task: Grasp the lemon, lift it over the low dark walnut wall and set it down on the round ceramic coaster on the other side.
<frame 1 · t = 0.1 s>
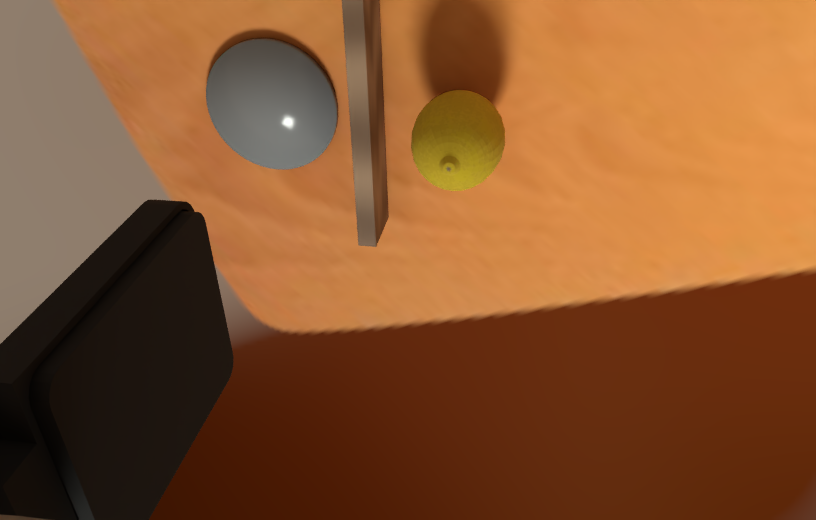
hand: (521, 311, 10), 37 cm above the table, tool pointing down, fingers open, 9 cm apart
coaster: (273, 105, 50), on the table
walnut wall: (374, 110, 49), on the table
lemon: (466, 113, 48), on the table
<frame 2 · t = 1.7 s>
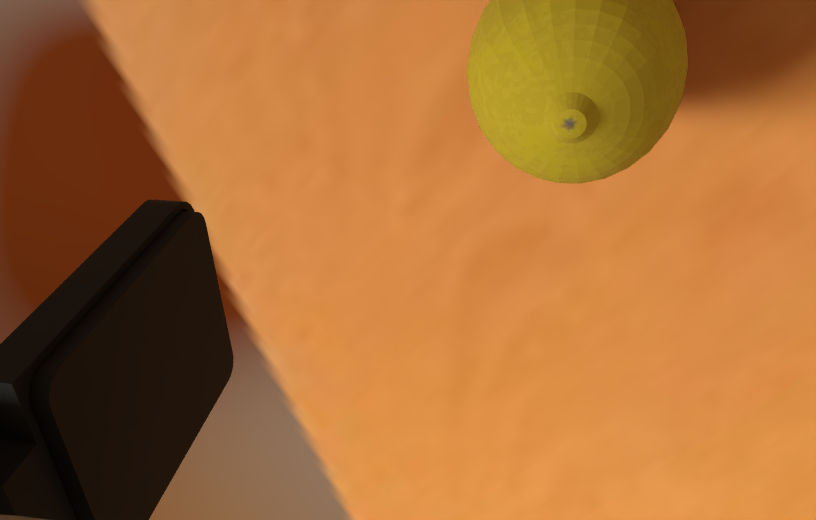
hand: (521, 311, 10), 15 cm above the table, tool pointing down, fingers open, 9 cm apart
lemon: (577, 23, 23), on the table
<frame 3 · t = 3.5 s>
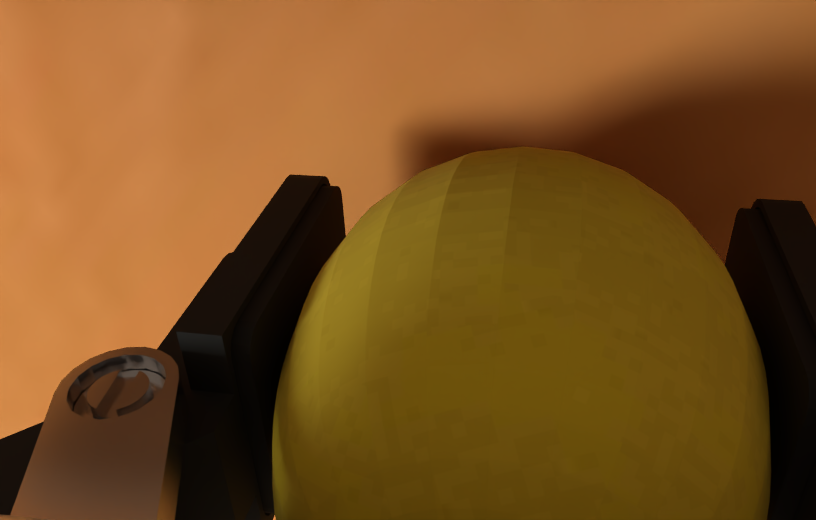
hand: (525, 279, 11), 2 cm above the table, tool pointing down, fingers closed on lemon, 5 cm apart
lemon: (531, 222, 13), on the table, touching gripper
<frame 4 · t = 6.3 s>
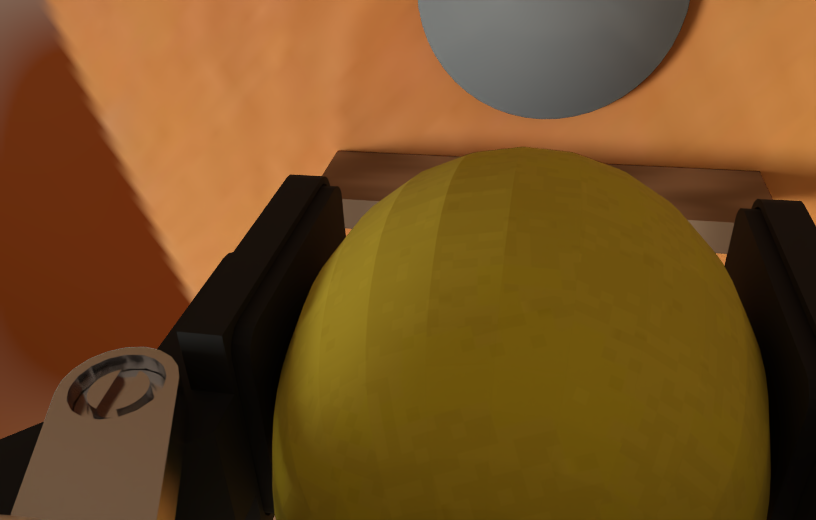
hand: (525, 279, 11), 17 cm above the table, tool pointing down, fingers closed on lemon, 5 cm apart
walnut wall: (537, 174, 29), on the table
lemon: (531, 222, 13), point 16 cm above the table, touching gripper
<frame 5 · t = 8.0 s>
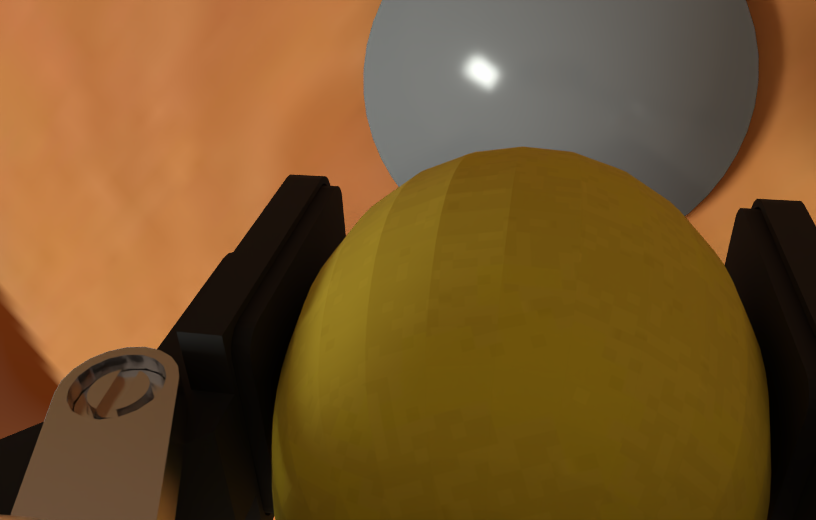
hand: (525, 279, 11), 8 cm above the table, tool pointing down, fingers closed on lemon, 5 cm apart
coaster: (550, 92, 18), on the table
lemon: (531, 222, 13), point 7 cm above the table, touching gripper
when the fingers open (3 cm above the table, at t = 9.5 s): lemon stays where it is, resting on coaster.
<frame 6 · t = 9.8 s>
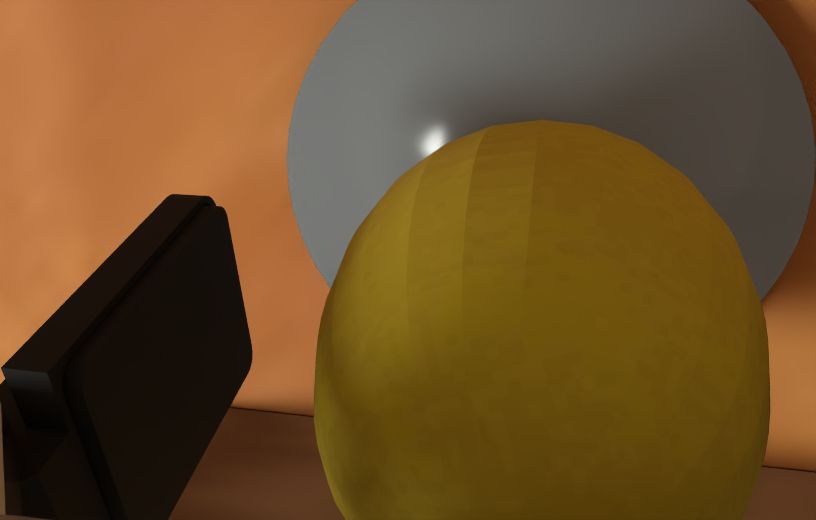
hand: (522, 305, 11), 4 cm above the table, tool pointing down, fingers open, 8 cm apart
coaster: (534, 188, 14), on the table
walnut wall: (517, 458, 17), on the table
lemon: (545, 199, 13), resting on coaster
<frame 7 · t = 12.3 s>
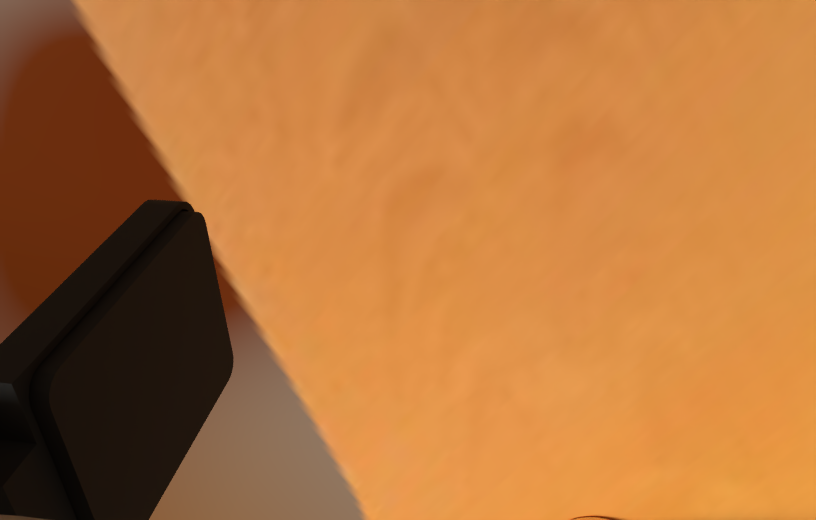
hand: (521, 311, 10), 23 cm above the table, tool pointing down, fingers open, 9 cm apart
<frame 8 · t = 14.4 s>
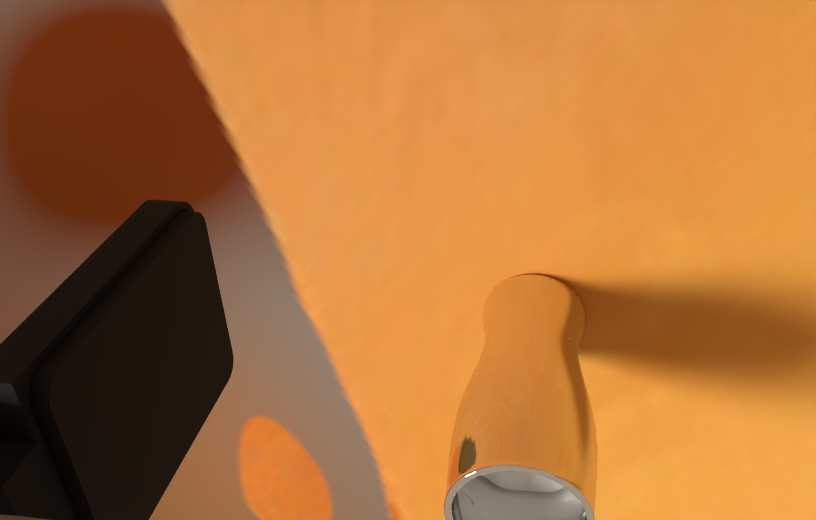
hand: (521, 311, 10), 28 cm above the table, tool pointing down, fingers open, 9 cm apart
beer glass: (533, 313, 45), on the table
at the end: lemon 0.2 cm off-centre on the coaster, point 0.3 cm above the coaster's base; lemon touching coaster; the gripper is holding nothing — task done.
